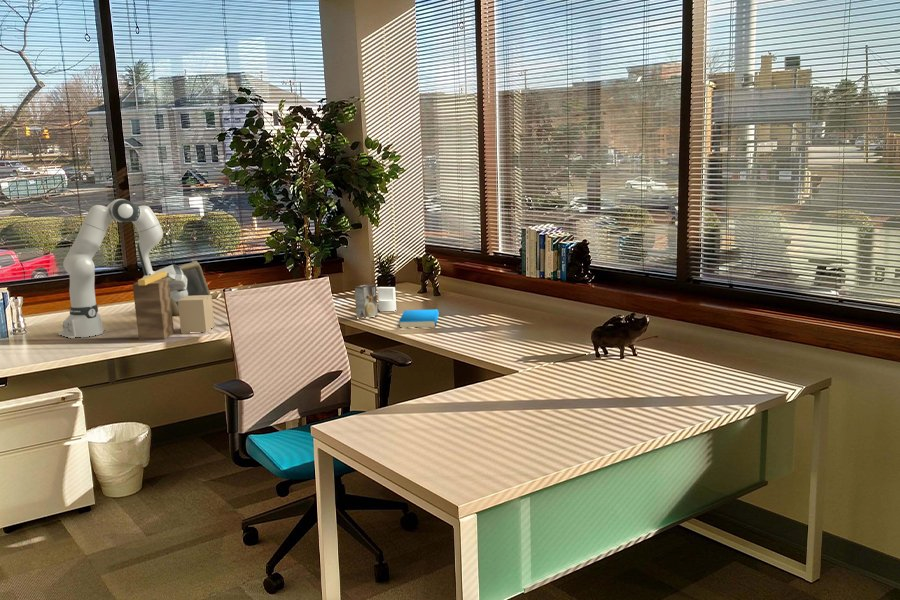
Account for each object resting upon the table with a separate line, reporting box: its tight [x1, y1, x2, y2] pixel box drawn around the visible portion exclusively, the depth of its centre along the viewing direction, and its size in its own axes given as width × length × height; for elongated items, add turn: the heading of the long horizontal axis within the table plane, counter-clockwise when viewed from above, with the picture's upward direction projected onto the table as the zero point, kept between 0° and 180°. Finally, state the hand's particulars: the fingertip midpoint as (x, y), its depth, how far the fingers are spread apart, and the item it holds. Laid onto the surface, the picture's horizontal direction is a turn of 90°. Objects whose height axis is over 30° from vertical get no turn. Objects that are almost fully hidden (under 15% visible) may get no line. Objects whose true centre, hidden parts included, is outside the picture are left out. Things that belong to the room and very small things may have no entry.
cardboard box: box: [178, 294, 215, 333], centre depth 401 cm, size 12×12×16 cm
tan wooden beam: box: [137, 271, 167, 285], centre depth 391 cm, size 26×3×2 cm, turn 177°
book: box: [398, 308, 440, 329], centre depth 399 cm, size 17×4×25 cm
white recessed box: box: [377, 286, 397, 312], centre depth 430 cm, size 9×9×12 cm
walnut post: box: [132, 279, 175, 341], centre depth 390 cm, size 12×12×26 cm
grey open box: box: [158, 260, 212, 317], centre depth 454 cm, size 33×14×25 cm, turn 164°
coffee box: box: [353, 283, 379, 318], centre depth 414 cm, size 9×6×16 cm
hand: (158, 274), depth 397 cm, fingers open, 8 cm apart
